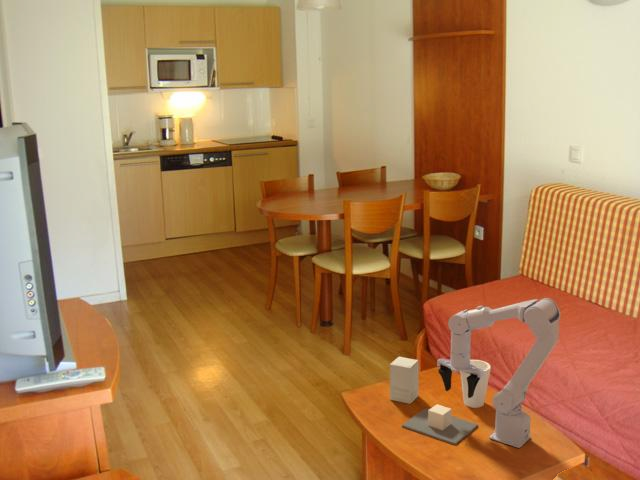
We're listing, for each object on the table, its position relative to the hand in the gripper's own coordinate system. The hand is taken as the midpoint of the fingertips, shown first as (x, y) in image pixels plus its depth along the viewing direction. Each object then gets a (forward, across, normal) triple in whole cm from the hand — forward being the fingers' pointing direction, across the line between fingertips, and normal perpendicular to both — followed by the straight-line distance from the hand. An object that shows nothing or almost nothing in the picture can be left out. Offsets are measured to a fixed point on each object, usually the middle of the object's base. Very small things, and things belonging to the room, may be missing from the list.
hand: (459, 393), depth 222 cm
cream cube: (+9, -3, -6) cm, 11 cm away
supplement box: (+10, -22, +4) cm, 24 cm away
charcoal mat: (+9, -3, -6) cm, 12 cm away
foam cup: (+10, -2, +14) cm, 17 cm away
